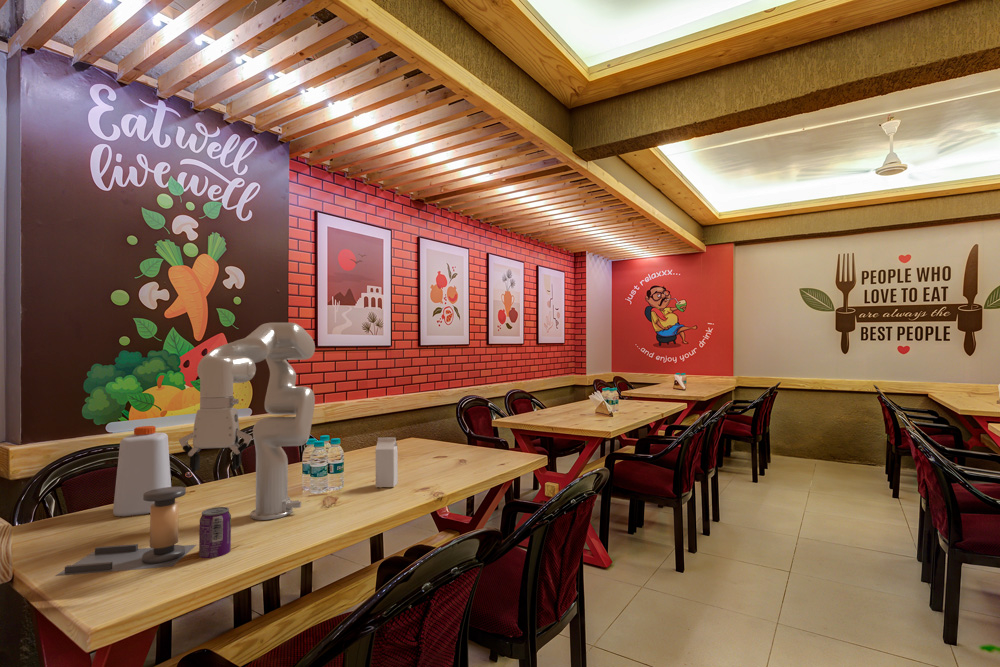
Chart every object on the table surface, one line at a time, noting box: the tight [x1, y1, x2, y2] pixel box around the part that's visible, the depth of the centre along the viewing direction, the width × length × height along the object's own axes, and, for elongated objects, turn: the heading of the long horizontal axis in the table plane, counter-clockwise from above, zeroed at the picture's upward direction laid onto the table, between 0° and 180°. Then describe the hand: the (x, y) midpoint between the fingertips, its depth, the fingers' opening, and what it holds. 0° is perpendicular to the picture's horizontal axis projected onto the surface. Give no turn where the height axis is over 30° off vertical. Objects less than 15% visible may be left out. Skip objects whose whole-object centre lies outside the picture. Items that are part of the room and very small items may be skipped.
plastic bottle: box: [112, 425, 172, 517], centre depth 170 cm, size 15×15×28 cm
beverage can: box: [198, 506, 232, 559], centre depth 129 cm, size 7×7×12 cm
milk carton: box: [375, 436, 399, 488], centre depth 197 cm, size 7×7×19 cm
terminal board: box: [54, 543, 197, 577], centre depth 125 cm, size 25×14×3 cm, turn 100°
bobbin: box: [142, 486, 187, 564], centre depth 127 cm, size 9×9×16 cm
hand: (215, 469), depth 129 cm, fingers open, 9 cm apart
